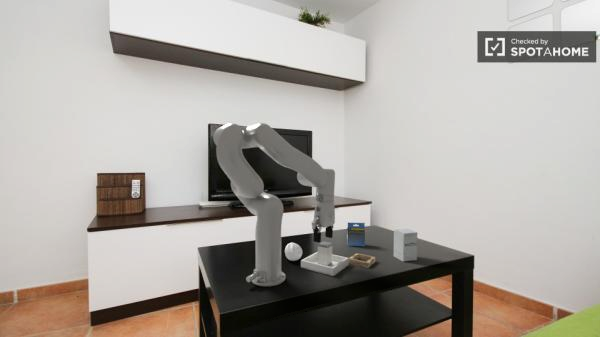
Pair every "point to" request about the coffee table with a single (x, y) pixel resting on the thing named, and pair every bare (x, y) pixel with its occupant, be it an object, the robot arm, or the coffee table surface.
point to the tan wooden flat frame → (368, 258)
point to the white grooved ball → (293, 251)
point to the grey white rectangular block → (325, 253)
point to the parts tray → (331, 270)
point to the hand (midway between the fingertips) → (323, 239)
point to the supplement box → (405, 244)
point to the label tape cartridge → (356, 234)
